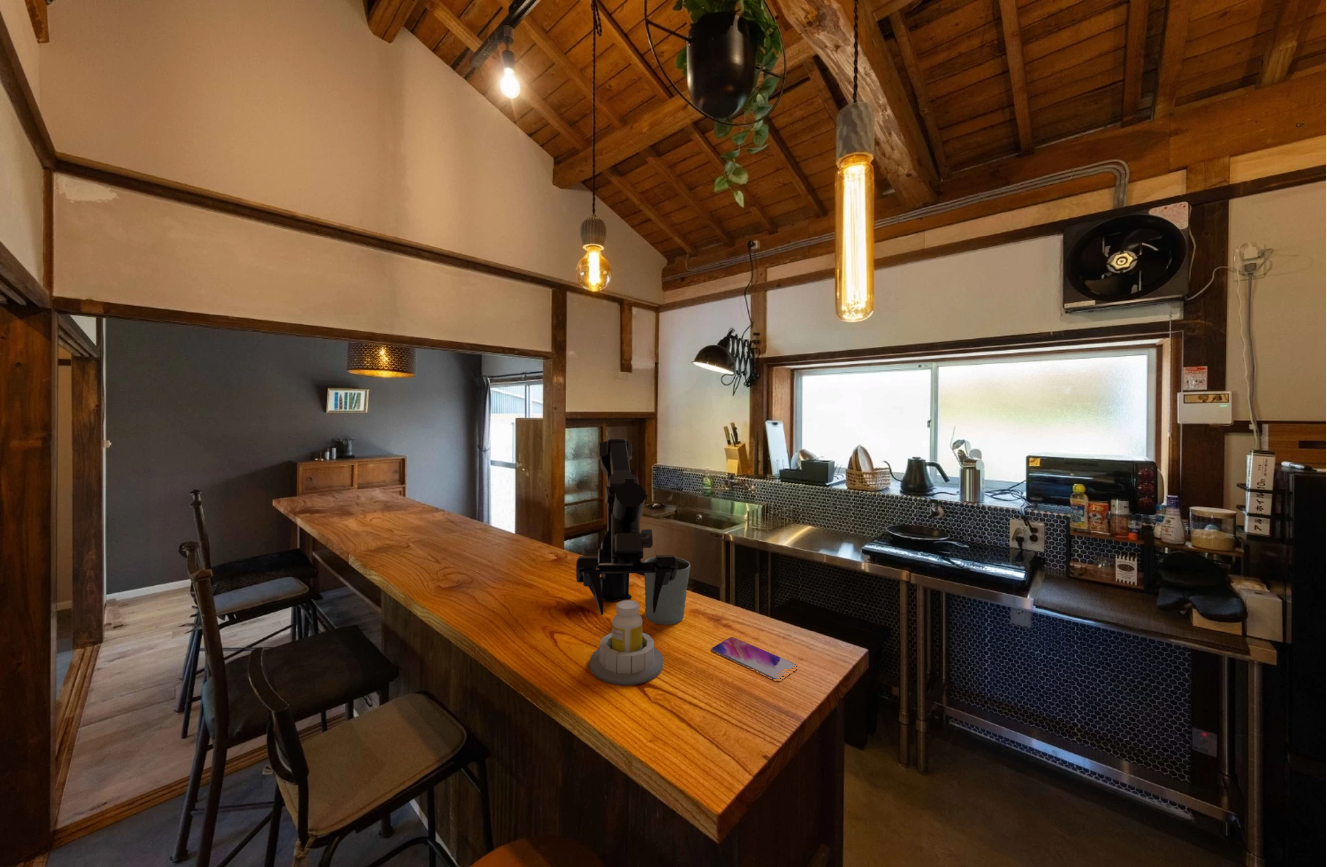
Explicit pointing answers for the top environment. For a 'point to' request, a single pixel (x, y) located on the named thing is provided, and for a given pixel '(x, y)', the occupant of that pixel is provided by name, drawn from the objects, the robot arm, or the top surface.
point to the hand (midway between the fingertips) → (628, 613)
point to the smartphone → (753, 657)
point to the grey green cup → (668, 596)
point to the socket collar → (626, 663)
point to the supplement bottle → (627, 627)
